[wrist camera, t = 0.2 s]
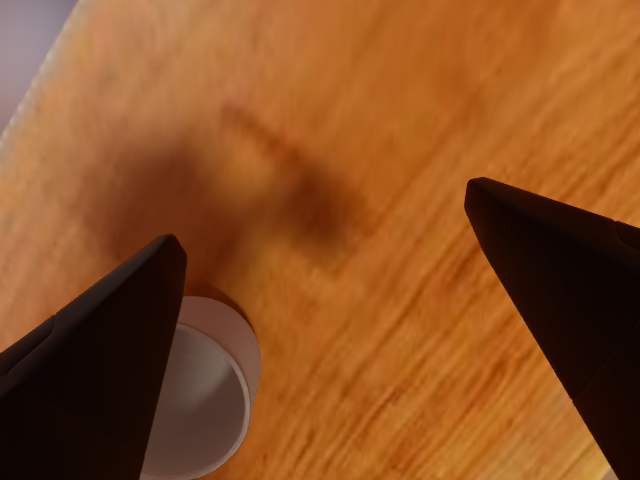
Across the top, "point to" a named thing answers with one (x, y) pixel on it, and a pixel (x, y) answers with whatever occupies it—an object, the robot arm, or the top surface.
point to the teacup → (203, 392)
